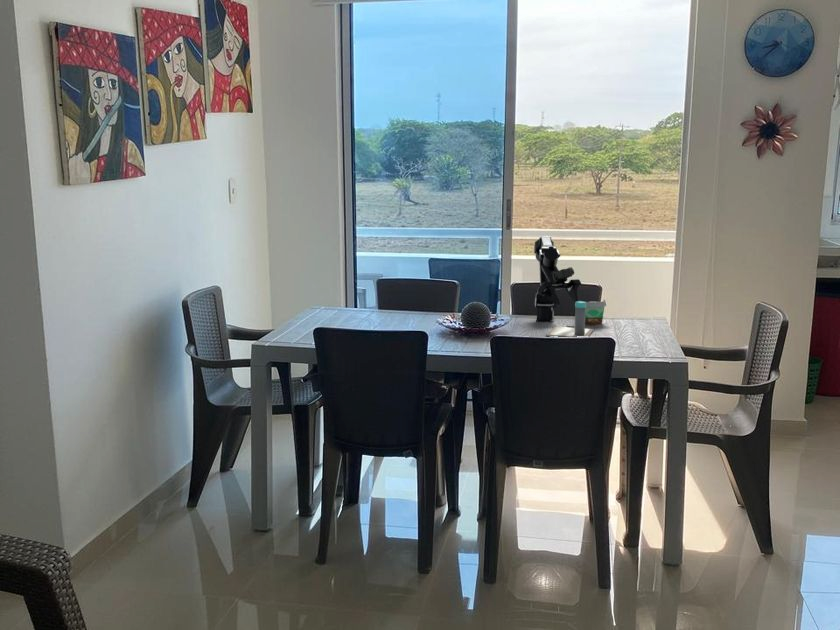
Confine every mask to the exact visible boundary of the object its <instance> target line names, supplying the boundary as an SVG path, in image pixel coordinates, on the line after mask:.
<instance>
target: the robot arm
mask: <svg viewBox="0 0 840 630" xmlns="http://www.w3.org/2000/svg"><path fill="white" fill-rule="evenodd" d="M533 254H535V259H536V260H537V261H538V262H539V263H538V265H539V283H540V284H538V288H537V293H535V298H534V306H535V308H536V319H535V322H541V323H542V322H543V323H552V321H554V316H555V313H554V312H555V311H554V309H556V308H557V306H560V305H561V302H560V300H559V297H558V296H557V293H556V291H555V290H566V293H567V295H568V296H569V297H570V299H572V301H573V302H574V303H575V302H578V301H579V299H578V297H579V296H578V289H579V287H580V286H581V285H582V283H581V280H580V279H579V278H574V279H570V280H569V281H568V278H571V277H573V276H574V275H575V270H574V268H573V267H567V268H562V269H560V270H559V269H558V266H557V264H558V262H559V261H558V260H559V259H560V257H561V253H560V251H559V249H558V248H557V246H555V243H554V241H553V240H552V236H549V235H541V236H539V239H537V240H535V242H534V247H533ZM567 281H568V283H566V282H567ZM553 308H554V309H553Z"/></svg>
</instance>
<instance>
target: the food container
mask: <svg viewBox="0 0 840 630" xmlns="http://www.w3.org/2000/svg"><path fill="white" fill-rule="evenodd" d="M578 301H582V302H586V313H585V326H600V325H602V324H603V318H604V313H605V307H607V302H606V300H605V299H603V301H593V300H591V301H583V300H579V299H578Z"/></svg>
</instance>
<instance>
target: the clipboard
mask: <svg viewBox="0 0 840 630" xmlns="http://www.w3.org/2000/svg"><path fill="white" fill-rule="evenodd" d="M574 331H575V325H569V324H567V325H566V326H560V325H555V326H554V327H553V328H551V329H550V330H549V331H548V333H547V334H545V337H546V336H558V337H577V335H574ZM594 331H595V329H594V328H587V327H585V335H583V336H589V335H590V334H591V335H592V333H593V332H594ZM591 335H590V336H591ZM590 336H589V337H590Z"/></svg>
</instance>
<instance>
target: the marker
mask: <svg viewBox="0 0 840 630" xmlns="http://www.w3.org/2000/svg"><path fill="white" fill-rule="evenodd" d="M582 301H583V300H580V301H579V300H578V302H574V303H575V304H574V307H575V308H574V309H575V313H574V326H575V331H574V335H577V336H583V335H585V328H586V325H585V313H586V302H587V301H584V302H582Z"/></svg>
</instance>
